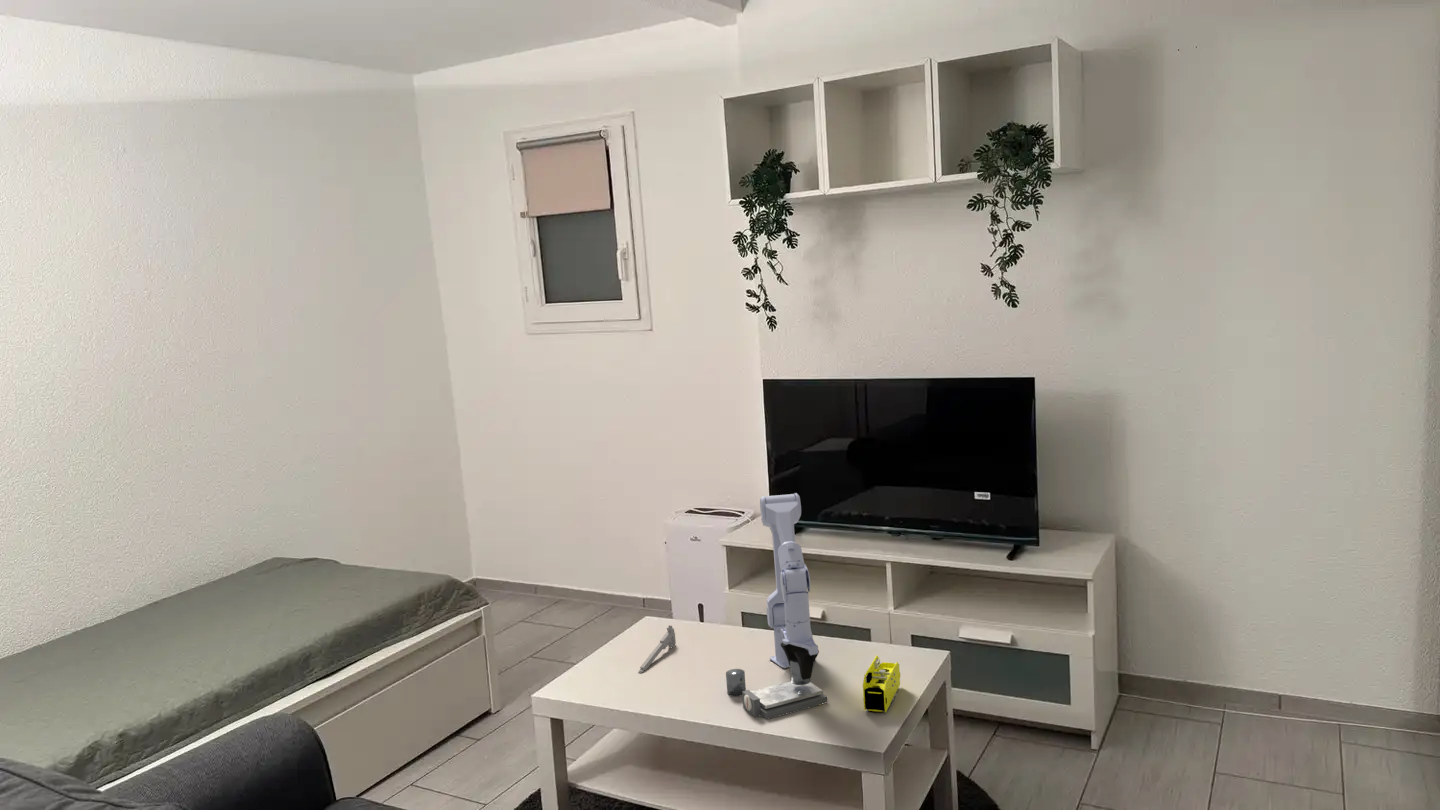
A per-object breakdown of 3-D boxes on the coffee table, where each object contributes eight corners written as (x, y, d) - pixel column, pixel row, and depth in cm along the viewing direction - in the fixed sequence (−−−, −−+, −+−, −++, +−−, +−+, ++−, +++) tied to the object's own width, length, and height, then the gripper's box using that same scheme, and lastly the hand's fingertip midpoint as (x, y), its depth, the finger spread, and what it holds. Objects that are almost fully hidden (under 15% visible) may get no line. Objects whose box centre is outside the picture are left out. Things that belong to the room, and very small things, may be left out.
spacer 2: (805, 675, 247) (803, 655, 247) (814, 682, 243) (812, 661, 242) (788, 680, 246) (786, 659, 245) (796, 686, 241) (795, 665, 241)
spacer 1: (741, 687, 254) (739, 667, 253) (749, 693, 250) (747, 673, 249) (724, 691, 252) (722, 671, 252) (732, 697, 248) (730, 677, 248)
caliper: (672, 645, 286) (670, 623, 285) (676, 645, 286) (674, 623, 285) (638, 674, 268) (636, 650, 267) (642, 674, 267) (640, 650, 266)
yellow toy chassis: (877, 685, 249) (876, 652, 248) (901, 687, 247) (899, 653, 246) (862, 713, 235) (860, 678, 234) (887, 716, 233) (885, 680, 231)
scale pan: (803, 681, 250) (803, 677, 250) (823, 693, 242) (822, 690, 242) (747, 695, 244) (747, 692, 244) (765, 709, 236) (765, 705, 236)
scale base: (804, 686, 251) (803, 670, 251) (827, 702, 241) (826, 685, 241) (737, 704, 244) (736, 687, 244) (758, 721, 234) (757, 703, 234)
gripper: (768, 614, 247) (771, 668, 249) (797, 631, 234) (801, 689, 236) (794, 608, 250) (797, 662, 252) (824, 625, 237) (828, 682, 239)
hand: (801, 674), depth 244 cm, fingers closed on spacer 2, 4 cm apart
